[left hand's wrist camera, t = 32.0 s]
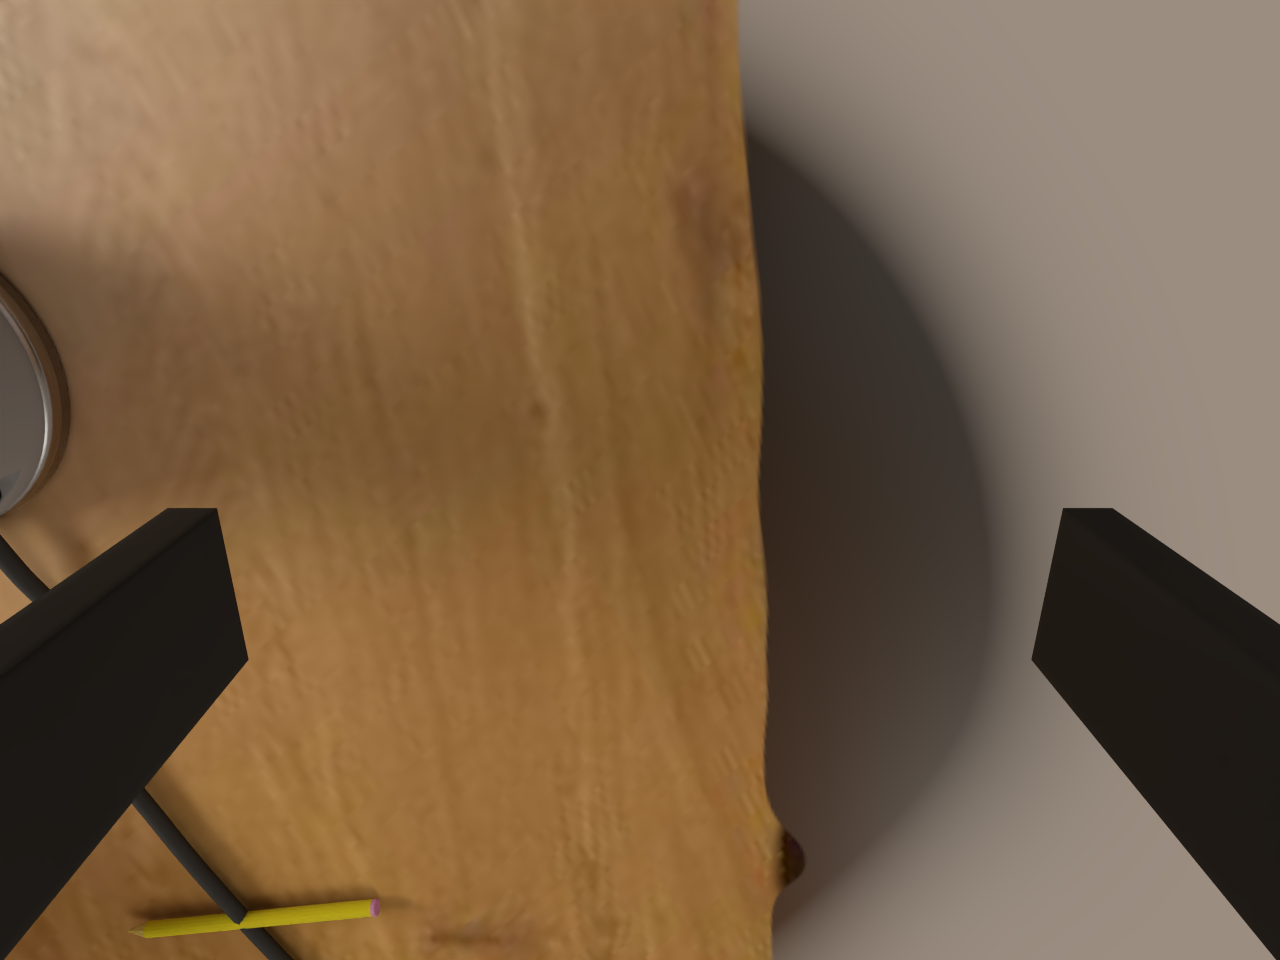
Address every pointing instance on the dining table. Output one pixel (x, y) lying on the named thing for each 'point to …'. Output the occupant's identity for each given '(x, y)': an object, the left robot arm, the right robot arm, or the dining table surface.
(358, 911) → the pencil
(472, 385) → the dining table surface
